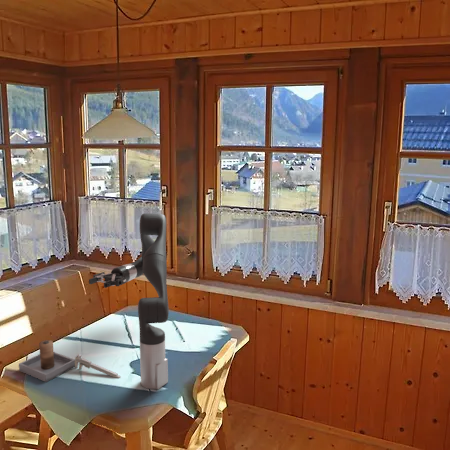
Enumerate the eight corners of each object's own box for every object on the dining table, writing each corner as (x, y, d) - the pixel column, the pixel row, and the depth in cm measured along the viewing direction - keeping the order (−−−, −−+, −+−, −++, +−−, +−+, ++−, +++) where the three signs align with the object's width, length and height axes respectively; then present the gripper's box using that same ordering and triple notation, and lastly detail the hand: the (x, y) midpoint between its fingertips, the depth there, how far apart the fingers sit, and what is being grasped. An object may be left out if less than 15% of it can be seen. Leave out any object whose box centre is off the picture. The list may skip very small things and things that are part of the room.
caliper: (74, 369, 189) (74, 354, 187) (76, 367, 190) (75, 353, 188) (119, 378, 182) (118, 363, 180) (120, 377, 182) (120, 362, 181)
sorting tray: (75, 366, 190) (75, 359, 189) (46, 382, 178) (45, 374, 178) (49, 356, 198) (48, 349, 197) (19, 370, 186) (18, 363, 186)
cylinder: (57, 365, 189) (55, 341, 187) (46, 370, 185) (44, 346, 183) (48, 362, 191) (47, 338, 189) (38, 367, 187) (36, 343, 185)
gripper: (112, 263, 214) (84, 272, 200) (136, 268, 207) (109, 277, 193) (112, 279, 215) (85, 289, 202) (136, 284, 208) (109, 295, 195)
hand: (96, 283), depth 198 cm, fingers open, 8 cm apart
